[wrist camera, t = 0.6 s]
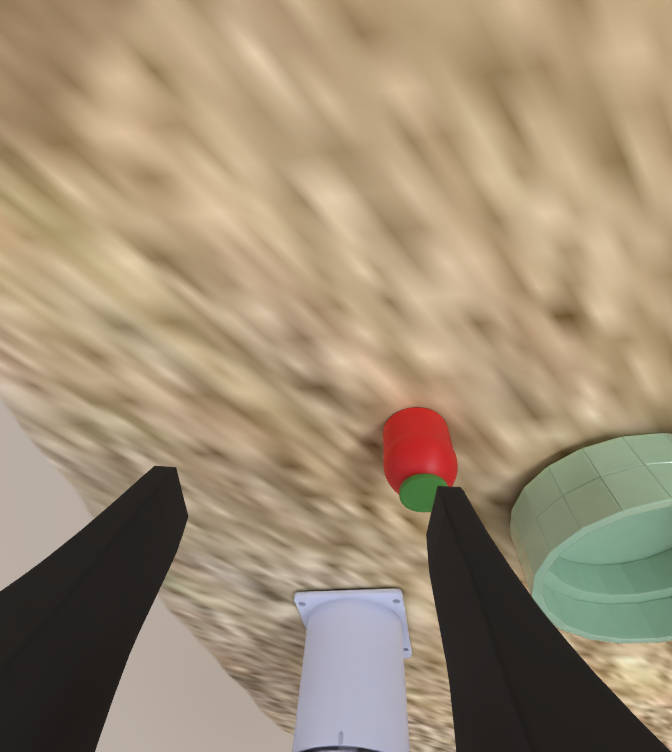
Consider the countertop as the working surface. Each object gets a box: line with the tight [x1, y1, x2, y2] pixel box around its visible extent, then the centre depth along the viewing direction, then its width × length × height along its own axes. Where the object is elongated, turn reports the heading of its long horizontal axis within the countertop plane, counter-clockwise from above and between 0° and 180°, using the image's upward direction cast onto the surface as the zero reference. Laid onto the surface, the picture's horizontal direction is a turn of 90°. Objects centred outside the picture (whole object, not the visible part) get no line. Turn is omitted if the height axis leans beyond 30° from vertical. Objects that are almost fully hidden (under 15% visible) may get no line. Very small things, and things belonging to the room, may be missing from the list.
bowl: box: [510, 433, 672, 643], centre depth 22 cm, size 12×12×4 cm
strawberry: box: [383, 407, 458, 512], centre depth 20 cm, size 4×4×4 cm
